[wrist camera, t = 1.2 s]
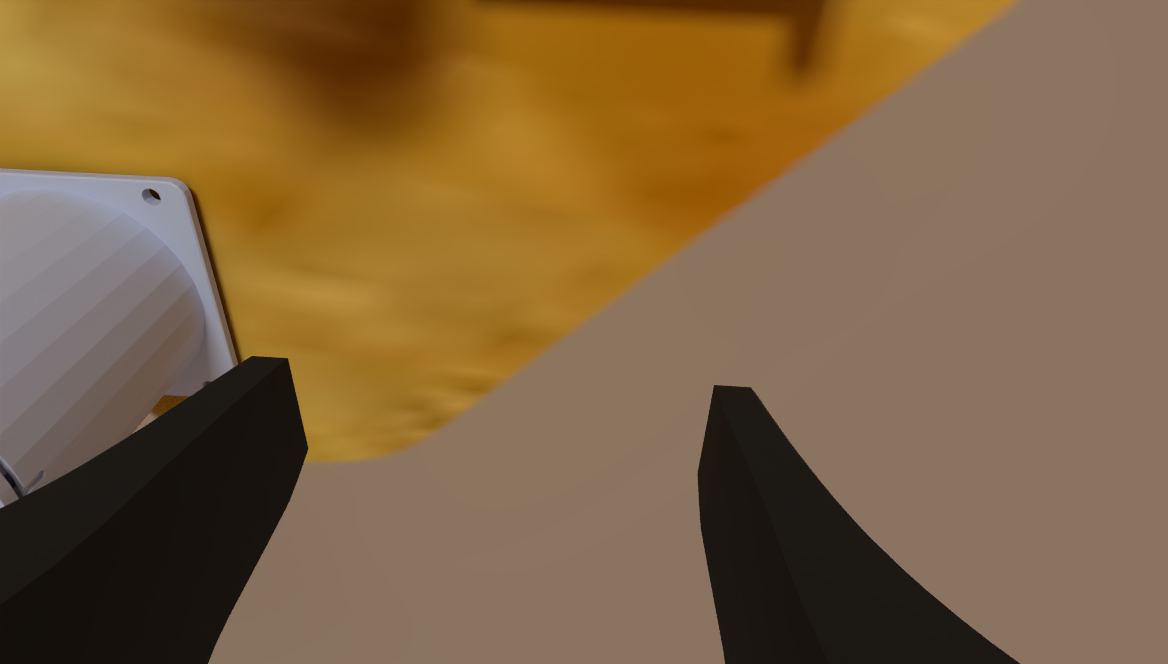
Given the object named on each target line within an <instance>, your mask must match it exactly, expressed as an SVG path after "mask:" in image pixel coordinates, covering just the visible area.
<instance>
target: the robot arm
mask: <svg viewBox="0 0 1168 664" xmlns="http://www.w3.org/2000/svg"><path fill="white" fill-rule="evenodd" d="M149 189H152V190H154V191H156V192H157V193H158V194H159V196H160V198H161V200H158V199H155V198H154V197H153V196H152V195H151V193H150V192H149ZM209 381H210V382H211V383H209ZM164 395H172V396H190V397H189V398H187V399H186V400H184V401H183V402H181V403H179V404H178V405H176V406H175V407H173V408H172V409H170V410H169V411H167V412H166V413H164V414H163V415H161V416H160V417H158V418H157V419H155V420H154V421H152V422H151V423H149V424H148V425H146V426H145V427H143V428H142V429H140V430H138V431H137V432H135V433H133V432H134V431H135V429H136V428H137V427H138V425H140V423H141V422H142V421H143V420H144V419H145V417H146V416H147V415H148V414H149V413H150V411H151V410H152V409H153V408H154V407H155V405H156V404H157V403H158V402H159V401H160V399H161V398H162V397H163V396H164ZM132 433H133V434H132ZM131 434H132V435H131ZM307 451H308V445H307V441H306V436H305V432H304V427H303V423H302V419H301V414H300V410H299V405H298V401H297V397H296V392H295V388H294V383H293V379H292V374H291V370H290V366H289V361H288V358H274V357H258V356H252V357H250V358H248V359H246V360H245V361H243V362H241V363H240V364H238V362H237V358H236V355H235V351H234V347H233V344H232V340H231V336H230V333H229V329H228V325H227V322H226V318H225V314H224V311H223V307H222V304H221V300H220V296H219V293H218V289H217V285H216V282H215V278H214V274H213V271H212V267H211V264H210V260H209V256H208V253H207V249H206V245H205V242H204V238H203V234H202V231H201V227H200V224H199V220H198V216H197V213H196V209H195V205H194V202H193V198H192V194H191V192H190V190H189V188H188V187H187V186H186V185H185V184H184V183H183V182H181V181H180V180H178V179H175V178H171V177H155V176H136V175H116V174H97V173H78V172H59V171H40V170H21V169H2V168H0V664H208V662H209V659H210V657H211V654H212V652H213V649H214V647H215V645H216V642H217V640H218V638H219V636H220V634H221V632H222V630H223V628H224V626H225V624H226V621H227V619H228V617H229V615H230V614H231V612H232V610H233V608H234V606H235V604H236V602H237V600H238V598H239V597H240V595H241V593H242V591H243V589H244V587H245V585H246V583H247V581H248V580H249V578H250V576H251V574H252V572H253V570H254V568H255V566H256V564H257V562H258V561H259V559H260V557H261V555H262V553H263V551H264V549H265V548H266V546H267V544H268V542H269V540H270V538H271V536H272V534H273V532H274V530H275V528H276V526H277V525H278V522H279V520H280V519H281V517H282V515H283V513H284V511H285V509H286V507H287V505H288V503H289V501H290V498H291V495H292V493H293V490H294V487H295V485H296V482H297V480H298V477H299V474H300V471H301V468H302V466H303V463H304V460H305V457H306V454H307ZM698 489H699V490H698V491H699V508H700V523H701V531H702V536H703V543H704V548H705V554H706V559H707V565H708V571H709V576H710V581H711V587H712V592H713V598H714V603H715V608H716V614H717V619H718V624H719V629H720V635H721V641H722V645H723V651H724V659H725V664H1020V663H1018V662H1017V661H1016V660H1014V659H1013V658H1012V657H1010V656H1009V655H1007V654H1006V653H1005V652H1003V651H1002V650H1001V649H999V648H998V647H997V646H995V645H994V644H992V643H991V642H990V641H988V640H987V639H986V638H985V637H983V636H982V635H981V634H979V633H978V632H977V631H976V630H974V629H973V628H971V627H970V626H969V625H968V624H967V623H965V622H964V621H963V620H961V619H960V618H959V617H958V616H957V615H955V614H954V613H953V612H952V611H951V610H949V609H948V608H947V607H946V606H945V605H943V604H942V603H941V602H940V601H939V600H937V599H936V598H935V597H934V596H933V595H931V594H930V593H929V592H928V591H926V590H925V589H924V588H923V587H922V586H921V585H920V584H919V583H918V582H917V581H915V580H914V579H913V578H912V577H911V576H910V575H909V574H908V573H906V572H905V571H904V570H903V569H902V568H901V567H900V566H899V565H898V564H897V563H896V562H895V561H894V560H893V559H891V558H890V556H889V555H888V554H887V553H886V552H884V551H883V550H882V549H881V548H880V547H879V546H878V545H877V544H876V543H875V542H874V541H873V540H872V539H871V538H870V537H869V536H868V535H867V534H866V533H865V532H864V531H863V530H862V529H861V528H860V526H859V525H858V524H857V523H856V522H855V521H854V520H853V519H852V518H851V516H850V515H849V514H848V513H847V512H846V511H845V510H844V509H843V508H842V506H841V505H840V504H839V503H838V502H837V501H836V500H835V498H834V497H833V496H832V495H831V494H830V492H829V491H828V490H827V489H826V488H825V486H824V485H823V484H822V483H821V482H820V480H819V479H818V478H817V476H816V475H815V474H814V473H813V472H812V470H811V469H810V468H809V467H808V465H807V464H806V463H805V461H804V460H803V459H802V458H801V456H800V455H799V454H798V452H797V451H796V450H795V448H794V447H793V446H792V444H791V443H790V442H789V440H788V439H787V438H786V436H785V435H784V433H783V432H782V431H781V429H780V428H779V426H778V425H777V424H776V422H775V421H774V419H773V418H772V416H771V415H770V414H769V412H768V411H767V409H766V408H765V406H764V405H763V404H762V402H761V400H760V399H759V398H758V396H757V395H756V393H755V392H754V391H753V390H752V389H751V388H750V387H736V386H719V385H714V389H713V394H712V399H711V405H710V410H709V415H708V421H707V426H706V431H705V437H704V442H703V448H702V453H701V458H700V463H699V469H698Z"/></svg>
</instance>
